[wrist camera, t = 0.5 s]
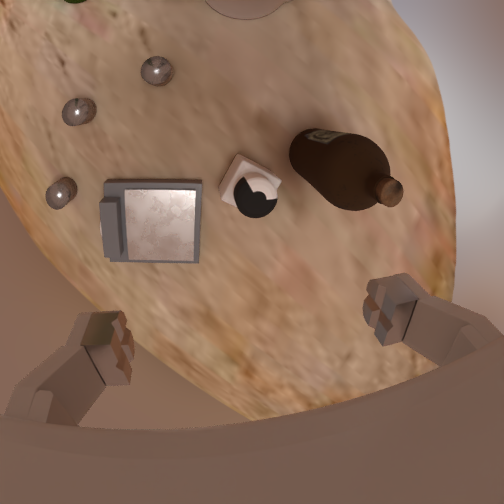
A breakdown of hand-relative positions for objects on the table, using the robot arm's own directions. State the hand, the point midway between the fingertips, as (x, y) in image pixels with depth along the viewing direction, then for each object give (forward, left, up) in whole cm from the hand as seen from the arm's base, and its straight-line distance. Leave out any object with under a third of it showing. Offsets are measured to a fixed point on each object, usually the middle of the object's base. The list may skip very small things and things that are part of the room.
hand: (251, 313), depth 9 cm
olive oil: (0, +19, -44) cm, 48 cm away
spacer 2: (-6, -22, -44) cm, 50 cm away
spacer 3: (-12, -9, -44) cm, 46 cm away
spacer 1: (+8, -26, -44) cm, 52 cm away
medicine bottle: (+6, +7, -44) cm, 45 cm away
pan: (+14, -8, -41) cm, 44 cm away
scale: (+14, -9, -44) cm, 47 cm away
